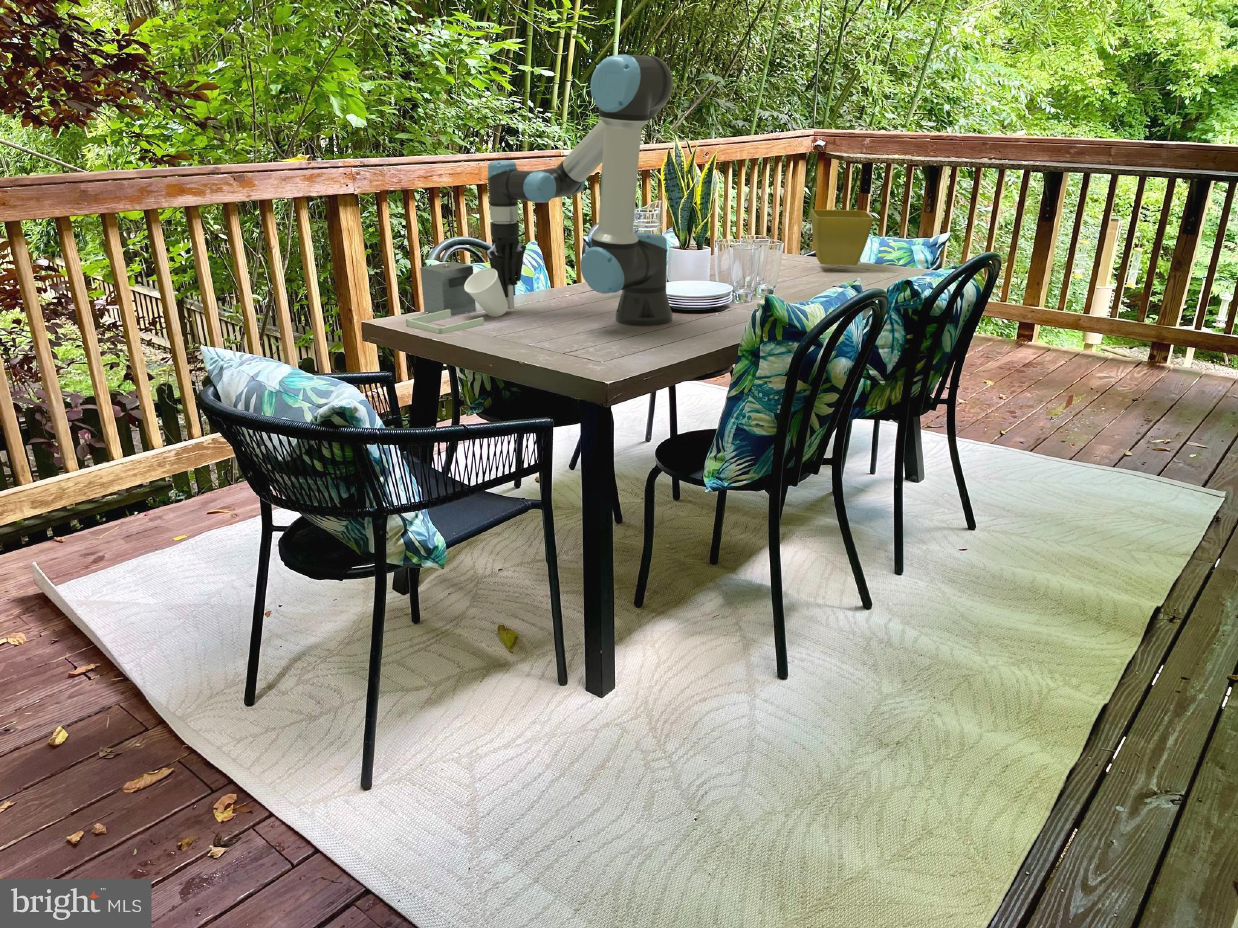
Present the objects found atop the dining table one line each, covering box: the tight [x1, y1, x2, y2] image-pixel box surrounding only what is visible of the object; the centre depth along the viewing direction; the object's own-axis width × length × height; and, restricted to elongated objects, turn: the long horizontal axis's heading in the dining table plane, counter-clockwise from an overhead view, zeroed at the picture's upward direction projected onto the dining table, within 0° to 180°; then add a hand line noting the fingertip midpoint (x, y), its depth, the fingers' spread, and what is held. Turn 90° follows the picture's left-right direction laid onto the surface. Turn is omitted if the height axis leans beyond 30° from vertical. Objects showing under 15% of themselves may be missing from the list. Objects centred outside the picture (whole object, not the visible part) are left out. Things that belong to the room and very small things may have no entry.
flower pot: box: [810, 209, 874, 266], centre depth 312 cm, size 19×19×17 cm
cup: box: [464, 267, 509, 318], centre depth 241 cm, size 10×10×11 cm
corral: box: [405, 309, 485, 335], centre depth 233 cm, size 14×14×3 cm
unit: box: [419, 261, 477, 316], centre depth 247 cm, size 10×11×14 cm
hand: (509, 308), depth 248 cm, fingers closed
